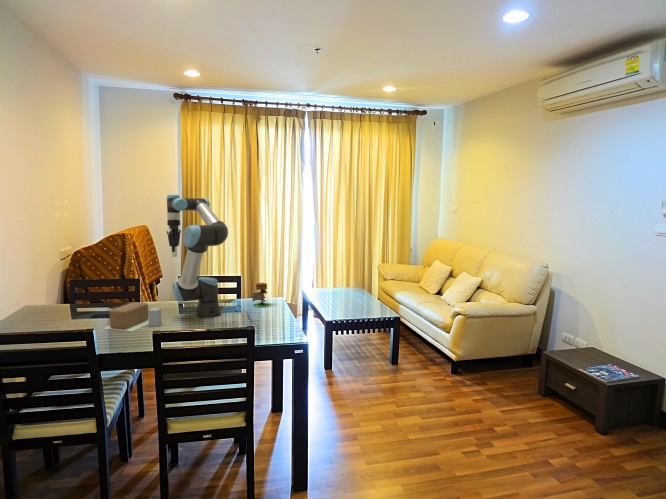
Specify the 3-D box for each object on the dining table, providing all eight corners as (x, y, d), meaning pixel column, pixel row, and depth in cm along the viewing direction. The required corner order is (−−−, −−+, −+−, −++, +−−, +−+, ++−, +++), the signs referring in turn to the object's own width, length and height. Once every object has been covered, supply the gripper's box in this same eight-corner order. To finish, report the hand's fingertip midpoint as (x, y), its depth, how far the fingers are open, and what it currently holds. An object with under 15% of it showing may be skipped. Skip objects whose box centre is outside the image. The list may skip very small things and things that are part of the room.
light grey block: (161, 323, 239) (160, 308, 238) (157, 326, 234) (157, 310, 233) (152, 323, 239) (152, 308, 238) (148, 326, 234) (148, 310, 233)
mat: (154, 321, 243) (154, 320, 243) (132, 331, 223) (132, 330, 223) (126, 319, 246) (126, 318, 246) (102, 329, 226) (102, 328, 226)
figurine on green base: (274, 304, 288) (274, 283, 287) (263, 308, 277) (264, 286, 275) (259, 302, 293) (259, 281, 291) (249, 306, 282) (249, 284, 280)
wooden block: (149, 319, 244) (125, 329, 225) (134, 318, 246) (109, 328, 227) (148, 302, 243) (124, 311, 224) (133, 301, 245) (108, 310, 226)
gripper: (173, 218, 269) (174, 255, 271) (162, 219, 256) (163, 257, 259) (184, 219, 267) (185, 255, 270) (173, 220, 255) (174, 258, 257)
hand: (174, 256), depth 264 cm, fingers closed
